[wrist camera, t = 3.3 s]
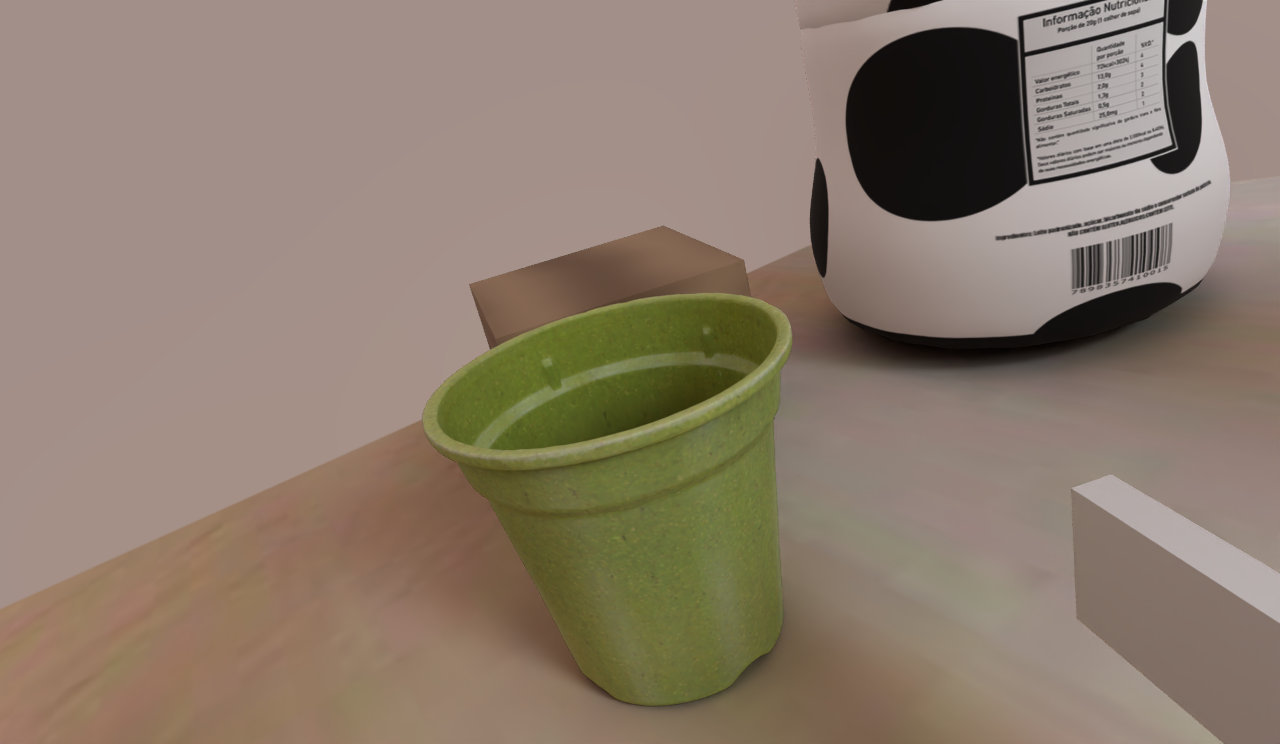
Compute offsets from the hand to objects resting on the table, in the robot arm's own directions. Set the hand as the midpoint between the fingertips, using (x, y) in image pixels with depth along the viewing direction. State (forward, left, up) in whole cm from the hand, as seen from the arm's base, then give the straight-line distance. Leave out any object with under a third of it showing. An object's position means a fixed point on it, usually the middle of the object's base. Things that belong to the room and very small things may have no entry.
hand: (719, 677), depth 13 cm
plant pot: (-1, -9, -6) cm, 11 cm away
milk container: (-23, -22, -6) cm, 32 cm away
